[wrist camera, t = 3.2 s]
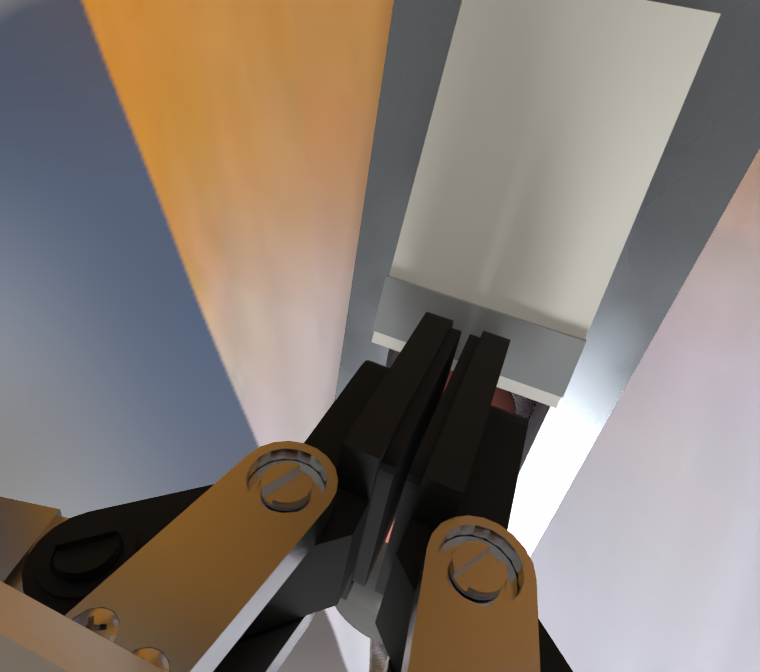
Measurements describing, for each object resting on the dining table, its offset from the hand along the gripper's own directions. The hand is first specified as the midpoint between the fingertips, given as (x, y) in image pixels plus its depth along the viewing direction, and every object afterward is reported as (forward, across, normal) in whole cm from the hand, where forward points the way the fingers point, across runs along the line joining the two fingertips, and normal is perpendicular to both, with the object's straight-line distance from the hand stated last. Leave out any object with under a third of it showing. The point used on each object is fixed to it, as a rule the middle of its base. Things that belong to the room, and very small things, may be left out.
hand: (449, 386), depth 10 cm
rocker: (+2, 0, -3) cm, 4 cm away
